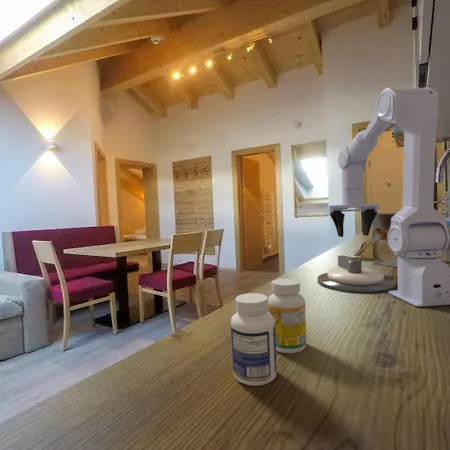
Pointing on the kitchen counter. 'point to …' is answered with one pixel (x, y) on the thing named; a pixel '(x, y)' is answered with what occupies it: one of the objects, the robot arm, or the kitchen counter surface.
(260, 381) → the pill bottle
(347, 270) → the dial
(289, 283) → the supplement bottle
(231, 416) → the kitchen counter surface
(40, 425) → the kitchen counter surface
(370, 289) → the dial plate
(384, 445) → the kitchen counter surface
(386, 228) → the coffee box
